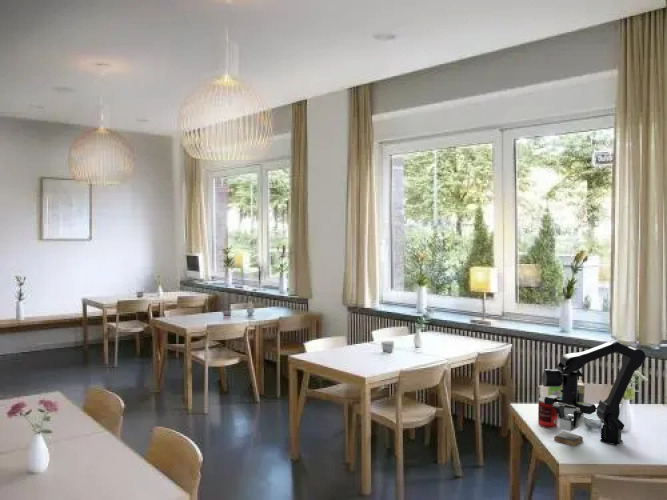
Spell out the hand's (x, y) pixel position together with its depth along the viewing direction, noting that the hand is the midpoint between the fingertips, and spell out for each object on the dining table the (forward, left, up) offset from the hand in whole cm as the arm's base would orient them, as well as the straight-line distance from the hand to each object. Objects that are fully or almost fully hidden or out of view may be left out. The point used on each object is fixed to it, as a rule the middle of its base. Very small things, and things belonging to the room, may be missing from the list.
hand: (569, 425), depth 228 cm
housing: (0, 0, -1) cm, 1 cm away
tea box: (+17, -34, -7) cm, 39 cm away
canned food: (+15, -12, -6) cm, 20 cm away
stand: (0, 0, -6) cm, 6 cm away
